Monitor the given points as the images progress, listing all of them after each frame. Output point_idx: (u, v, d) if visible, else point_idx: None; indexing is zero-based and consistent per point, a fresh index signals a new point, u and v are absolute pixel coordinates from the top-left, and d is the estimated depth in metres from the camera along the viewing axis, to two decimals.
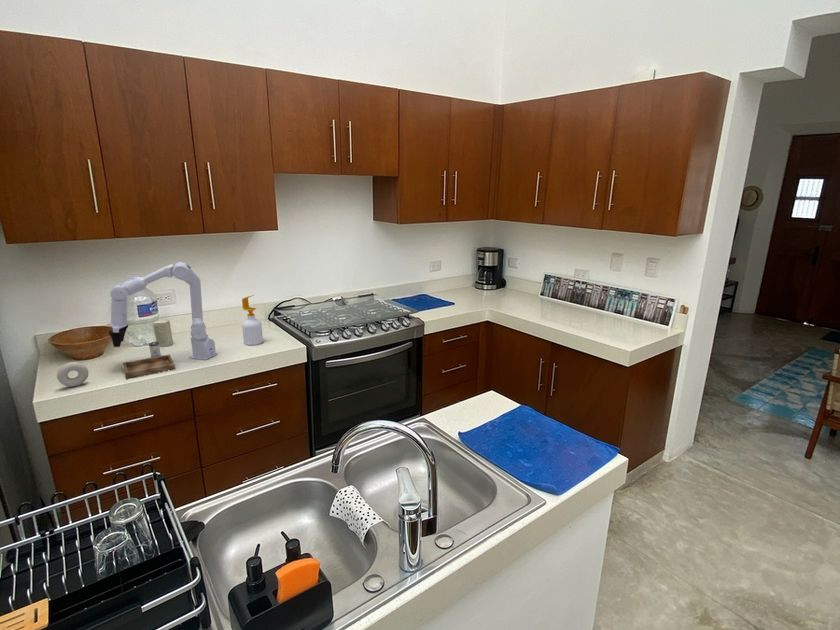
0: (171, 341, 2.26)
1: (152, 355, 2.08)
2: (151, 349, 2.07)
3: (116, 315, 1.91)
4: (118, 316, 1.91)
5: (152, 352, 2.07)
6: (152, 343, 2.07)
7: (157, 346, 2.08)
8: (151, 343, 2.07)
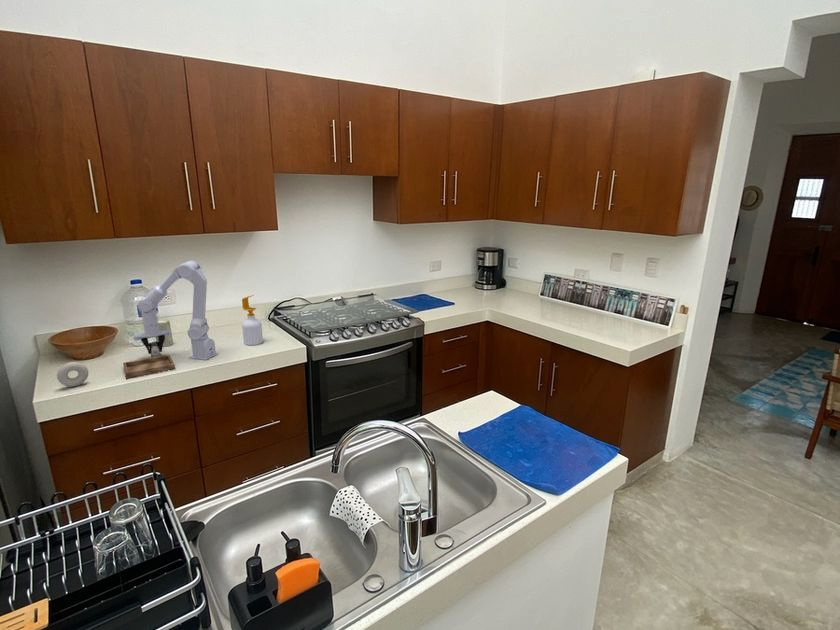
0: (171, 341, 2.26)
1: (152, 355, 2.08)
2: (151, 349, 2.07)
3: None
4: None
5: (152, 352, 2.07)
6: (152, 343, 2.07)
7: (157, 346, 2.08)
8: (151, 343, 2.07)
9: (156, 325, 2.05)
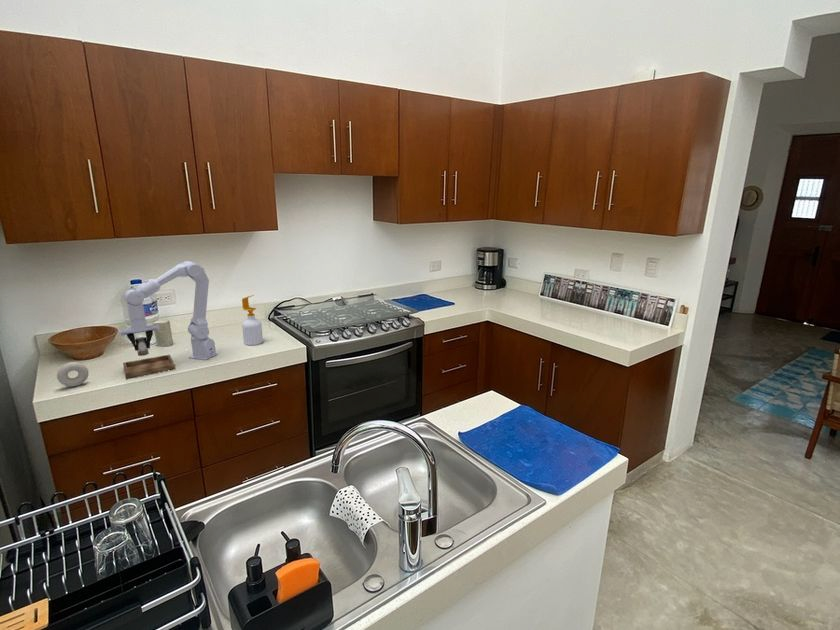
0: (171, 341, 2.26)
1: (139, 352, 1.92)
2: (137, 345, 1.91)
3: None
4: None
5: (138, 348, 1.92)
6: (139, 339, 1.92)
7: (144, 342, 1.92)
8: (138, 339, 1.92)
9: (143, 319, 1.89)
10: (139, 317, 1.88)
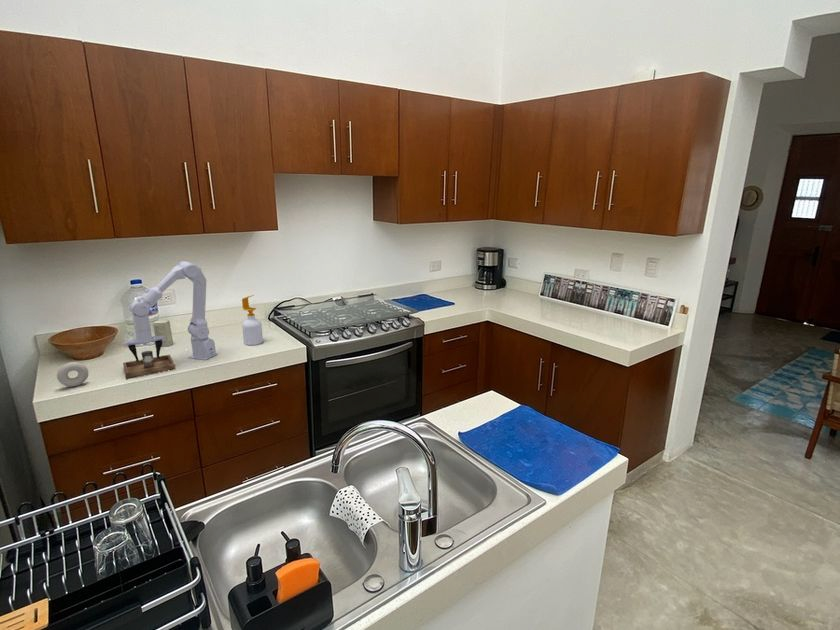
0: (171, 341, 2.26)
1: (145, 365, 1.94)
2: (144, 359, 1.94)
3: (135, 330, 1.91)
4: (135, 331, 1.90)
5: (145, 362, 1.94)
6: (145, 352, 1.94)
7: (150, 356, 1.94)
8: (144, 352, 1.94)
9: (149, 330, 1.92)
10: (145, 328, 1.90)
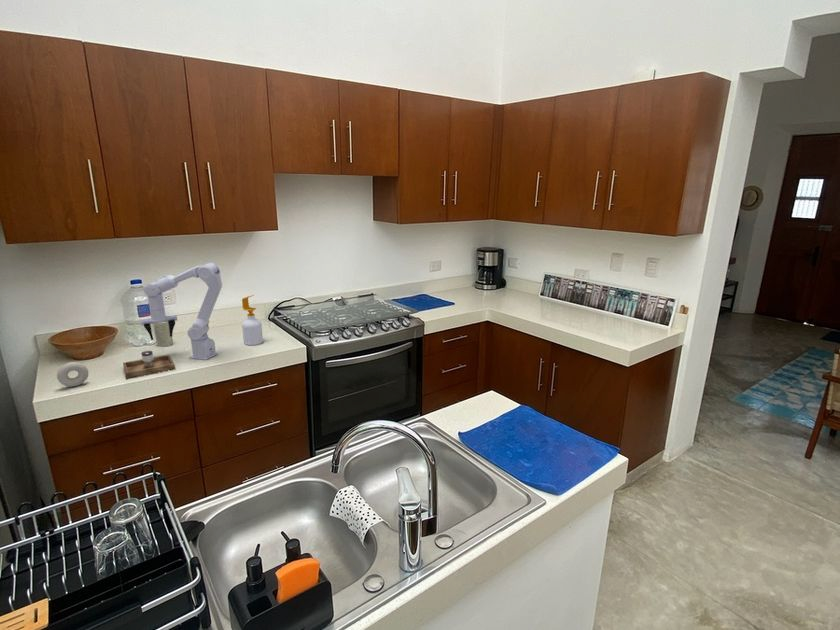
0: (171, 341, 2.26)
1: (145, 365, 1.94)
2: (144, 359, 1.94)
3: (150, 310, 2.03)
4: (150, 311, 2.02)
5: (145, 362, 1.94)
6: (145, 352, 1.94)
7: (150, 356, 1.94)
8: (144, 352, 1.94)
9: (163, 310, 2.04)
10: (154, 308, 2.01)
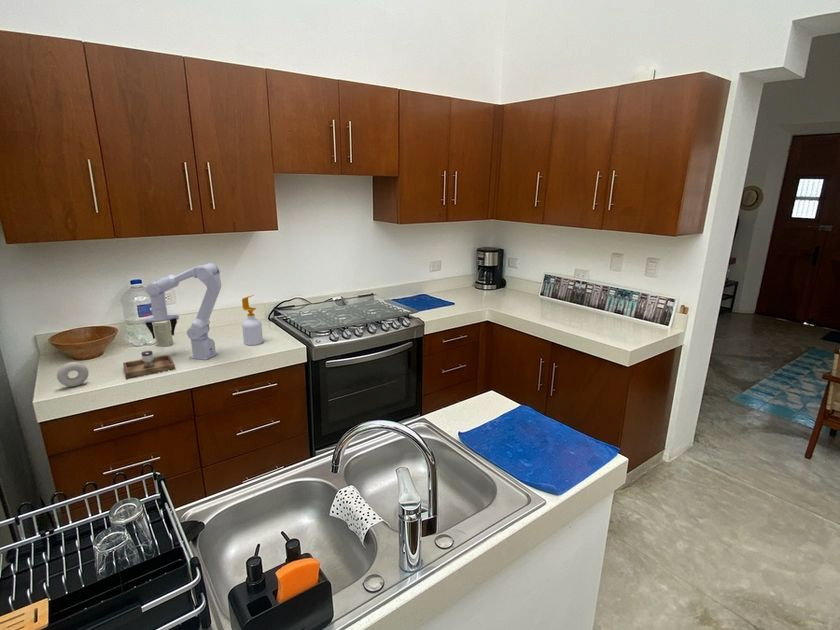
0: (171, 341, 2.26)
1: (145, 365, 1.94)
2: (144, 359, 1.94)
3: (152, 309, 2.04)
4: (152, 310, 2.04)
5: (145, 362, 1.94)
6: (145, 352, 1.94)
7: (150, 356, 1.94)
8: (144, 352, 1.94)
9: (164, 309, 2.05)
10: (155, 307, 2.03)
